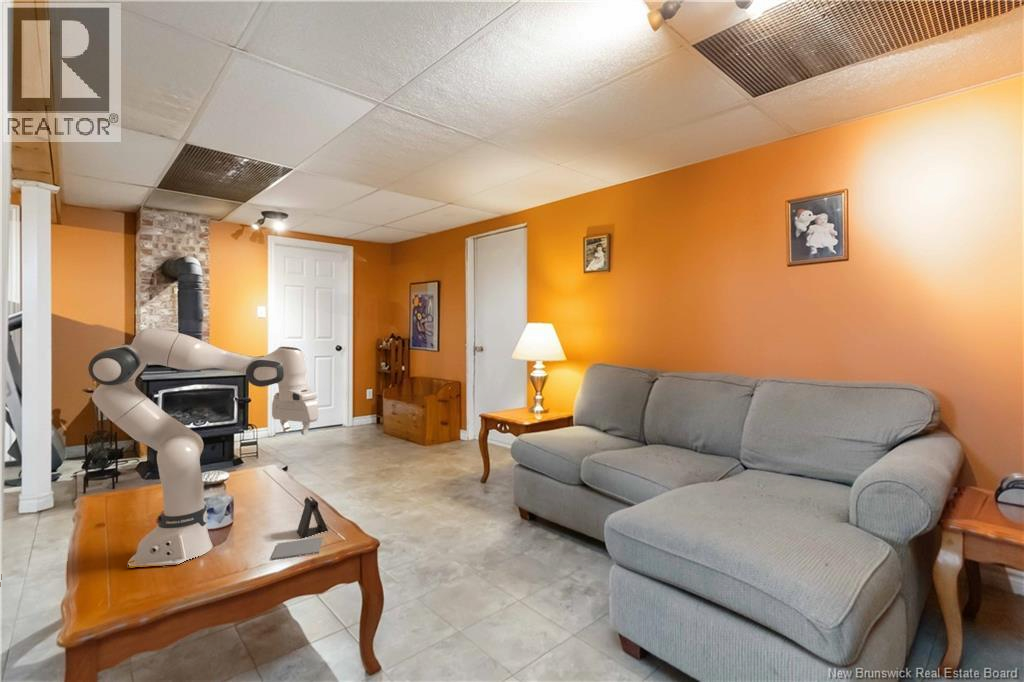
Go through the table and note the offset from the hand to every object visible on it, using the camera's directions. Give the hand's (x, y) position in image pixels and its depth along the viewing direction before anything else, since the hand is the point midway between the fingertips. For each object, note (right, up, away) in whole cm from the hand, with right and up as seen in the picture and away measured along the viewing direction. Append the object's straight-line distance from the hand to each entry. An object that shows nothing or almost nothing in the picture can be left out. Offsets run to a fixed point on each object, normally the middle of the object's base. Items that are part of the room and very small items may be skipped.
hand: (295, 433), depth 169 cm
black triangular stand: (+4, -36, +5) cm, 37 cm away
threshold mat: (+4, -37, -8) cm, 38 cm away
